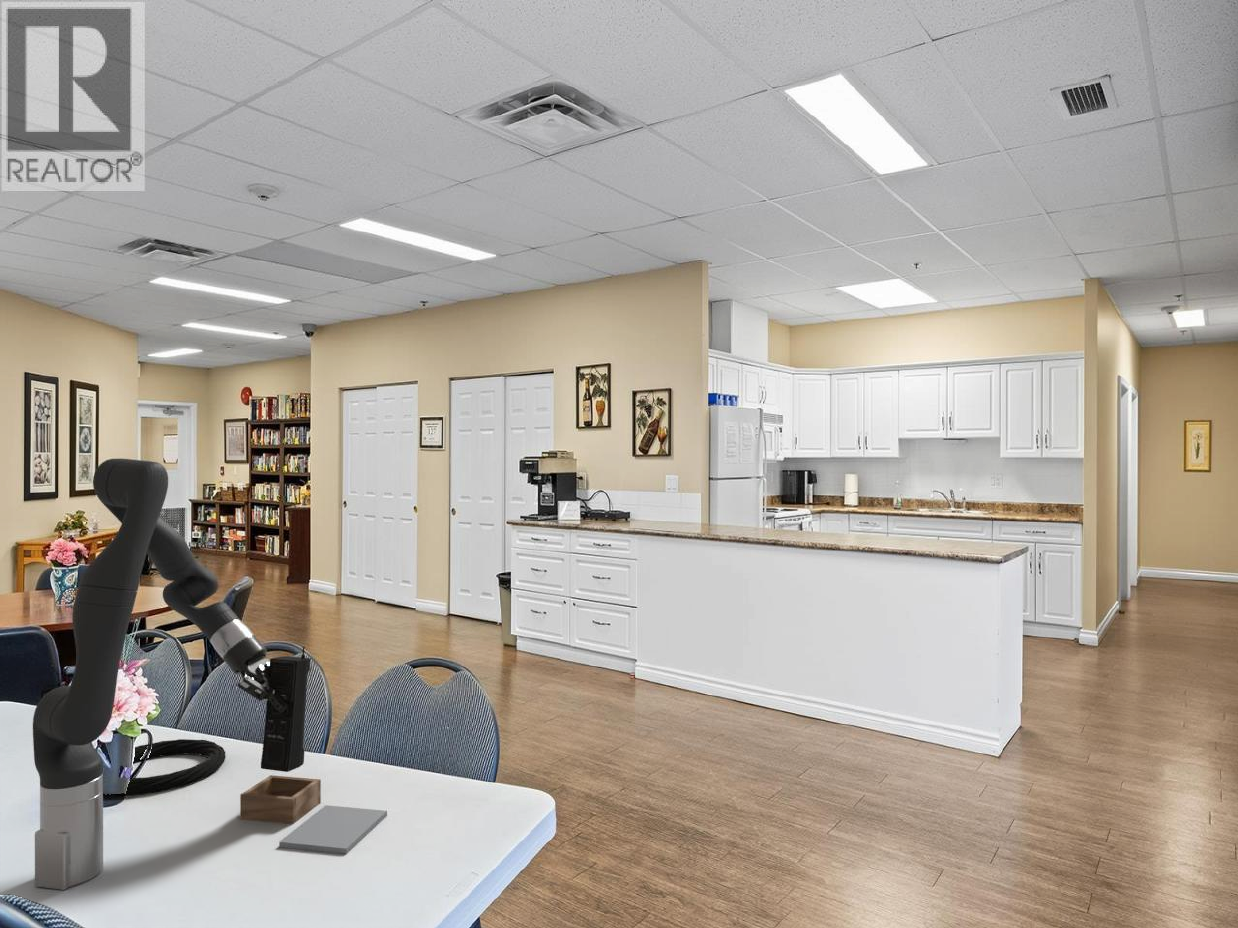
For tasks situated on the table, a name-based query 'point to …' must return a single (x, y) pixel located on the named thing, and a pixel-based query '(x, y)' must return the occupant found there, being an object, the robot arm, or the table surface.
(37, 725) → the robot arm
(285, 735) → the portable radio
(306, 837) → the slate mat
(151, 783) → the cable lock
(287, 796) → the walnut collar
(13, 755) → the table surface
